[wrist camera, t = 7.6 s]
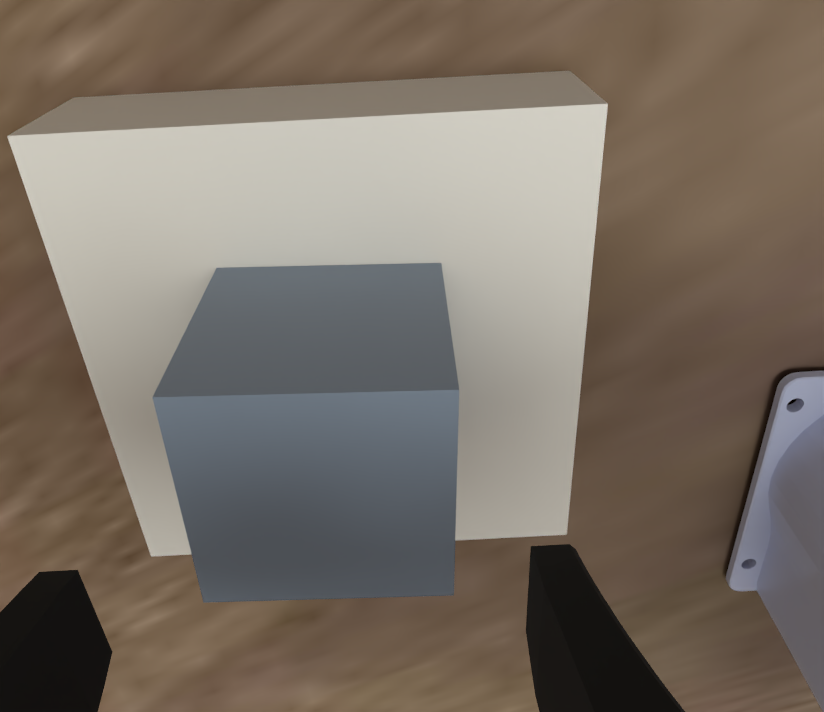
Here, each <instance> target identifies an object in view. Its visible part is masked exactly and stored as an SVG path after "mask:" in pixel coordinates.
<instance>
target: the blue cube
mask: <svg viewBox="0 0 824 712" xmlns="http://www.w3.org/2000/svg"><path fill="white" fill-rule="evenodd" d="M152 398H153V402H154V406H155V410H156V414H157V418H158V422H159V426H160V430H161V434H162V438H163V442H164V446H165V450H166V454H167V458H168V462H169V466H170V470H171V474H172V478H173V482H174V486H175V490H176V494H177V498H178V502H179V506H180V510H181V514H182V518H183V522H184V526H185V530H186V534H187V538H188V542H189V546H190V550H191V554H192V558H193V562H194V566H195V570H196V574H197V578H198V582H199V586H200V590H201V594H202V598H203V602H235V601H271V600H306V599H341V598H376V597H411V596H446V595H454V568H455V531H456V494H457V456H458V419H459V384H458V377H457V370H456V363H455V356H454V349H453V342H452V335H451V328H450V321H449V314H448V307H447V300H446V293H445V286H444V279H443V272H442V265H441V263H411V264H366V265H320V266H275V267H229V268H216V270H215V272H214V274H213V276H212V278H211V280H210V282H209V284H208V286H207V288H206V290H205V292H204V294H203V296H202V298H201V300H200V302H199V304H198V306H197V308H196V310H195V312H194V314H193V316H192V318H191V320H190V322H189V324H188V326H187V328H186V330H185V332H184V334H183V336H182V339H181V341H180V343H179V345H178V347H177V349H176V351H175V353H174V355H173V357H172V359H171V361H170V363H169V365H168V367H167V369H166V371H165V373H164V375H163V377H162V379H161V381H160V383H159V385H158V387H157V389H156V391H155V393H154V395H153V397H152Z"/></svg>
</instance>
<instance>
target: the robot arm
mask: <svg viewBox="0 0 824 712" xmlns="http://www.w3.org/2000/svg"><path fill="white" fill-rule="evenodd" d="M793 399H796V401H795V402H794V403H792V404H789V405H787V404H788V403H789V402H790V401H791V400H793ZM726 581H727V583H728V585H729V586H730V588H731V589H733V590H735V591H756V590H757V592H758V594H759V596H760V597H761V599H762V601H763V603H764V605H765V607H766V608H767V610H768V612H769V614H770V616H771V618H772V619H773V621H774V623H775V625H776V627H777V629H778V630H779V632H780V634H781V636H782V638H783V640H784V641H785V643H786V645H787V647H788V649H789V651H790V652H791V654H792V656H793V658H794V660H795V662H796V664H797V665H798V667H799V669H800V671H801V673H802V675H803V676H804V678H805V680H806V682H807V684H808V686H809V687H810V689H811V691H812V693H813V695H814V697H815V698H816V700H817V702H818V704H819V706H820V708H821V709H822V711H823V712H824V371H807V372H795V373H791V374H789V375H787V376H785V377H784V378H783V379H782V380H781V381H780V382H779V384H778V386H777V390H776V393H775V397H774V401H773V404H772V408H771V412H770V415H769V419H768V423H767V426H766V430H765V434H764V438H763V441H762V445H761V449H760V452H759V456H758V460H757V463H756V467H755V471H754V474H753V478H752V482H751V485H750V489H749V493H748V497H747V500H746V504H745V508H744V511H743V515H742V519H741V522H740V526H739V530H738V533H737V537H736V541H735V545H734V548H733V552H732V556H731V559H730V563H729V567H728V570H727V574H726ZM526 634H527V641H528V648H529V655H530V662H531V669H532V675H533V682H534V688H535V695H536V699H537V703H538V707H539V711H540V712H685V711H684V710H683V709H682V707H681V706H680V705H679V704H678V702H677V701H676V700H675V698H674V697H673V696H672V695H671V693H670V692H669V691H668V689H667V688H666V687H665V685H664V684H663V683H662V681H661V680H660V679H659V677H658V676H657V675H656V673H655V672H654V671H653V669H652V668H651V666H650V665H649V664H648V662H647V661H646V659H645V658H644V657H643V655H642V654H641V652H640V651H639V650H638V648H637V647H636V645H635V644H634V643H633V641H632V640H631V638H630V637H629V636H628V634H627V633H626V631H625V630H624V628H623V627H622V625H621V624H620V622H619V621H618V619H617V618H616V616H615V615H614V613H613V611H612V610H611V608H610V607H609V605H608V604H607V602H606V601H605V599H604V597H603V596H602V594H601V593H600V591H599V589H598V588H597V586H596V584H595V583H594V581H593V579H592V578H591V576H590V574H589V573H588V571H587V569H586V567H585V566H584V564H583V562H582V560H581V558H580V557H579V555H578V553H577V551H576V549H575V548H573V547H572V546H571V545H570V544H567V545H548V546H531V554H530V571H529V588H528V605H527V622H526ZM111 655H112V650H111V648H110V646H109V643H108V641H107V638H106V636H105V634H104V631H103V629H102V627H101V624H100V622H99V620H98V617H97V615H96V612H95V610H94V608H93V605H92V603H91V601H90V598H89V596H88V594H87V591H86V589H85V587H84V584H83V582H82V579H81V577H80V575H79V572H78V570H69V571H49V572H39V573H38V574H37V575H36V576H35V577H34V578H33V579H32V580H31V581H30V582H29V583H28V584H27V585H26V586H25V587H24V588H23V589H22V590H21V591H20V592H19V593H18V594H17V595H16V596H15V598H14V599H13V600H12V601H11V602H10V603H9V604H8V605H7V606H6V607H5V608H4V609H3V610H2V611H1V612H0V712H98V708H99V704H100V700H101V696H102V693H103V689H104V685H105V680H106V676H107V672H108V668H109V663H110V659H111Z"/></svg>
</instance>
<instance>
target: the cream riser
mask: <svg viewBox="0 0 824 712" xmlns="http://www.w3.org/2000/svg"><path fill="white" fill-rule="evenodd" d="M607 106H608V103H606V102H605V101H604V100H603V99H602V98H601V97H600V96H598V95H597V94H596V93H595V92H594V91H593V90H592V89H590V88H589V87H588V86H587V85H586V84H585V83H583V82H582V81H581V80H580V79H579V78H578V77H577V76H575V75H574V74H573V73H572V72H571V71H554V72H536V73H517V74H499V75H480V76H462V77H444V78H425V79H407V80H388V81H370V82H351V83H333V84H314V85H296V86H277V87H259V88H241V89H222V90H204V91H185V92H167V93H148V94H130V95H111V96H93V97H75V98H72V99H70V100H69V101H67V102H65V103H63V104H62V105H60V106H58V107H56V108H55V109H53V110H51V111H50V112H48V113H46V114H44V115H43V116H41V117H39V118H37V119H36V120H34V121H32V122H31V123H29V124H27V125H25V126H24V127H22V128H20V129H18V130H17V131H15V132H13V133H12V134H10V135H8V136H7V137H8V140H9V143H10V145H11V148H12V151H13V154H14V157H15V160H16V163H17V166H18V169H19V172H20V175H21V178H22V180H23V183H24V186H25V189H26V192H27V195H28V198H29V201H30V204H31V207H32V210H33V213H34V216H35V218H36V221H37V224H38V227H39V230H40V233H41V236H42V239H43V242H44V245H45V248H46V251H47V253H48V256H49V259H50V262H51V265H52V268H53V271H54V274H55V277H56V280H57V283H58V286H59V289H60V291H61V294H62V297H63V300H64V303H65V306H66V309H67V312H68V315H69V318H70V321H71V324H72V327H73V329H74V332H75V335H76V338H77V341H78V344H79V347H80V350H81V353H82V356H83V359H84V362H85V364H86V367H87V370H88V373H89V376H90V379H91V382H92V385H93V388H94V391H95V394H96V397H97V400H98V402H99V405H100V408H101V411H102V414H103V417H104V420H105V423H106V426H107V429H108V432H109V435H110V437H111V440H112V443H113V446H114V449H115V452H116V455H117V458H118V461H119V464H120V467H121V470H122V473H123V475H124V478H125V481H126V484H127V487H128V490H129V493H130V496H131V499H132V502H133V505H134V508H135V511H136V513H137V516H138V519H139V522H140V525H141V528H142V531H143V534H144V537H145V540H146V543H147V546H148V548H149V551H150V554H151V556H169V555H188V554H191V550H190V546H189V542H188V538H187V534H186V530H185V526H184V522H183V518H182V514H181V510H180V506H179V502H178V498H177V494H176V490H175V486H174V482H173V478H172V474H171V470H170V466H169V462H168V458H167V454H166V450H165V446H164V442H163V438H162V434H161V430H160V426H159V422H158V418H157V414H156V410H155V406H154V402H153V398H152V397H153V395H154V393H155V391H156V389H157V387H158V385H159V383H160V381H161V379H162V377H163V375H164V373H165V371H166V369H167V367H168V365H169V363H170V361H171V359H172V357H173V355H174V353H175V351H176V349H177V347H178V345H179V343H180V341H181V339H182V336H183V334H184V332H185V330H186V328H187V326H188V324H189V322H190V320H191V318H192V316H193V314H194V312H195V310H196V308H197V306H198V304H199V302H200V300H201V298H202V296H203V294H204V292H205V290H206V288H207V286H208V284H209V282H210V280H211V278H212V276H213V274H214V272H215V270H216V268H229V267H275V266H320V265H366V264H411V263H441V265H442V272H443V279H444V286H445V293H446V300H447V307H448V314H449V321H450V328H451V335H452V342H453V349H454V356H455V363H456V370H457V377H458V384H459V419H458V456H457V494H456V531H455V540H474V539H493V538H512V537H531V536H550V535H567V525H568V515H569V504H570V494H571V483H572V473H573V462H574V452H575V441H576V431H577V420H578V410H579V400H580V389H581V379H582V368H583V358H584V347H585V337H586V326H587V316H588V305H589V295H590V284H591V274H592V263H593V253H594V242H595V232H596V221H597V211H598V201H599V190H600V180H601V169H602V159H603V148H604V138H605V127H606V117H607Z"/></svg>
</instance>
